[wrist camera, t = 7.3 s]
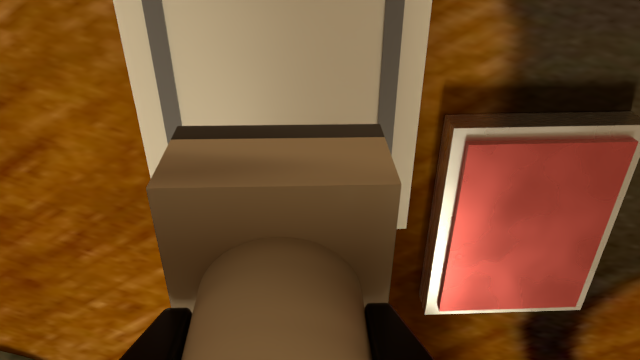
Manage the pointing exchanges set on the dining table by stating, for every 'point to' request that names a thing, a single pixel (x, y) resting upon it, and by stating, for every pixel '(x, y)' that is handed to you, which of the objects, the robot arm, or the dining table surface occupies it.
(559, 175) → the ink pad
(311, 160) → the stamp
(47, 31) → the dining table surface
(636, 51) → the dining table surface
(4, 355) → the olive brown oval relief
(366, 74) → the card
